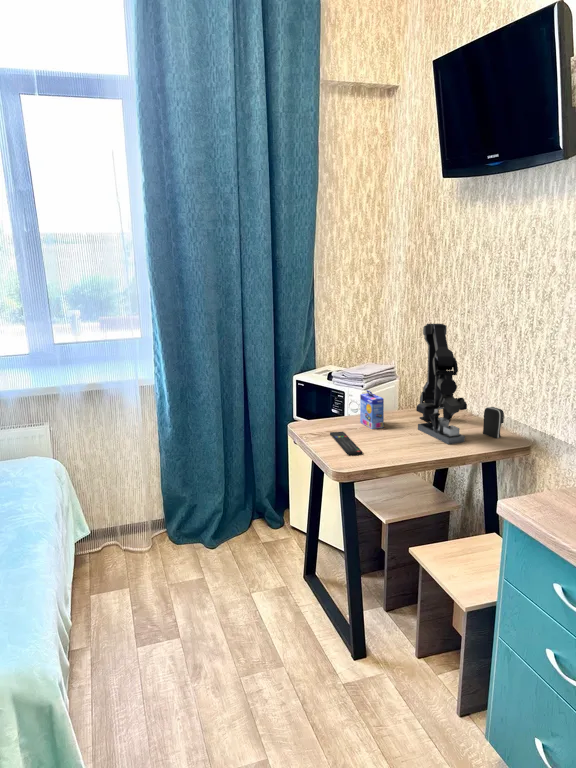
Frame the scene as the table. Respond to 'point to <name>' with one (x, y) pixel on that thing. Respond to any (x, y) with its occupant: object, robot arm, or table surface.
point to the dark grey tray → (439, 434)
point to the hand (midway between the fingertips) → (440, 428)
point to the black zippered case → (493, 421)
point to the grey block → (441, 424)
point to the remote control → (346, 443)
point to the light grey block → (451, 431)
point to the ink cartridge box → (371, 410)
